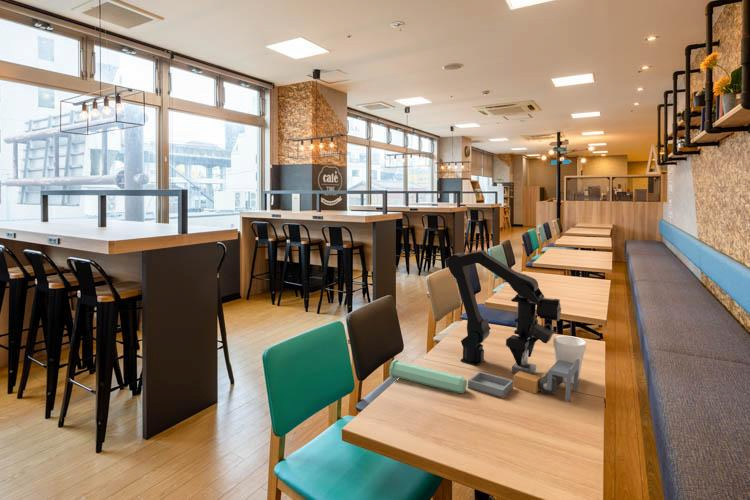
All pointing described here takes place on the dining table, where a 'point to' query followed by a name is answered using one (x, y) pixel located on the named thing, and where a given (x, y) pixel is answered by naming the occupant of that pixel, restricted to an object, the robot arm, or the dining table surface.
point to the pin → (525, 359)
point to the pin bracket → (524, 369)
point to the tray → (490, 384)
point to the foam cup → (569, 351)
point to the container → (428, 376)
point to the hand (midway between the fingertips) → (524, 360)
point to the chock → (526, 381)
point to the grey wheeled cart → (560, 377)
